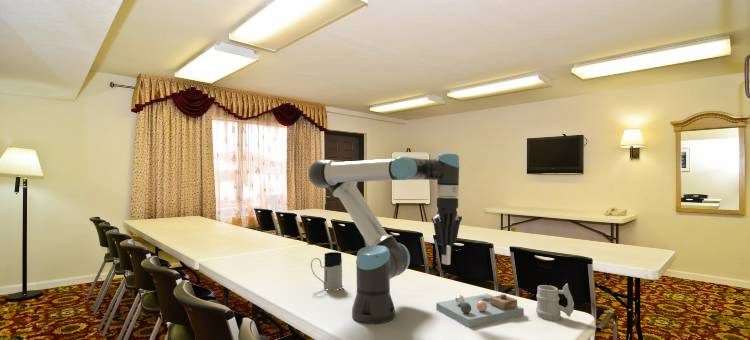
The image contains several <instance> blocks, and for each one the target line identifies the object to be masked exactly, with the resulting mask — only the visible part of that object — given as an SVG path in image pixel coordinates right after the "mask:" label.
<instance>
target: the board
mask: <svg viewBox="0 0 750 340" xmlns="http://www.w3.org/2000/svg"><path fill="white" fill-rule="evenodd" d="M490 297H494V295H491V294H489V293H484V294H478V295H473V296H467V297H464V299H465V302H466V303H469V304H470V306H471V311H470V312H469V313H467V314H466V313H463V312H462V311H461V306H459V305H457V304H456V302H455V299H451V300H450V299H449V300H445V301H444V300H443V301H440V302H436V304H435V305H436V311H438V312H440V313H441V314H443V315H445V316H447V317H449V318H451V319H452V320H453V321H456V322H458V323H459V324H461V325H462V326H465V327H466V328H468V329H469V328H473V327H478V326H482V325H487V324H492V323H496V322H500V321H505V320H509V319H513V318H519V317H524V316H525V314H524V313H525V310H524V307H522V306H519V305H517V307H515V308H511V309H506V310H502V309H500V308H498V307H495V306H493V305H491V304H490ZM479 301H484V302H486V304H487V309H486V311H483V312H481V311H479V310H478V309H477V303H478V302H479Z"/></svg>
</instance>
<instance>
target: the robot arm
mask: <svg viewBox="0 0 750 340" xmlns="http://www.w3.org/2000/svg"><path fill="white" fill-rule="evenodd" d="M460 168H461V167H460V157H459V155H458V154H457V153H448V152H447V153H446V152H445V153H438V154H437V158H435V159H432V158H431V159H429V158H416V157H408V156H399V157H395V158H383V159H382V158H380V159H371V160H370V159H368V160H366V159H365V160H354V161H345V160H341V159H336V160H335V159H323V158H322V159H318V160H316V161H314V162H313V163H312V164H310V166H309V169H308V174H307V175H308V179H309V181H310V182H311V184H312V185H313V186H315V187H317V188H320V189H329V191H330V193H331V194H332V196H333V197H335V198H338V199H339V200H340V203H342V205H343V207H344V208H345V210H346V212H347V214H348V215H349V216H350V218H351V220H352V222H353V223H354V225H355V226H356V228H357V229H358V230H359V233H360V234H361V236H362V237H363V239H364V241H365V242H366V244H367V245H368V246H365V247H362V248H360V249H359V250H358V251H357V253H356V260H355V264H356V265H355V266H356V295H355V299H354V301H353V305H352V309H351V317H352V318H354V319H353V320H355V321H356V322H359V321H360V323H363V322H364V323H365V324H382V323H386V322H389V321H391V320H394V319H395V316H396V308H395V305H394V301H393V298H392V296H391V290H390V289H391V282H390V279H393V278H395V277H397V276H400V275H401V274H402V273H404V272H405V271H406V270H407V269H408V268H409V265H410V263H411V262H410V261H411V255H410V252H409V250H408V248H407V247H406V246H405V245H404V244H402V243H400V242H397V240H396V238H395V237H394V235H392V234H388V232H386V230H385V229H384V227H383V225H382V224H381V223H380V221H379V219H378V218H377V216H376V215H375V213H374V212H373V210H372V208H371V207H370V205H369V204H368V202H367V201H366V199H365V198H364V196H363V194H362V193H361V192H360V191H361V190H359V189H358V187H357V186H358V185H357V184H358V183H359V182H375V181H376V182H377V181H379V182H380V181H408V180H409V181H411V180H414V181H415V180H416V181H417V180H419V181H420V180H421V181H422V180H423V181H425V180H428V181H437V182H436V183H437V184H436V185H437V186H436V196H437V198H436V208H437V212H436V215H435V216H432V217H431V221H432V225H433V227H434V228H433V229H434V235H435V241H436V244H438V245H440V254H441V264H443V265H447V266H448V265H449V266H450V265H451V255H452V248H453V247H454V246H455V244H456V243H457V240H458V236H459V235H458V234H459V230H460V225H461V222H462V220H463V217H462V216H461V215H458V211H457V209H458V208H459V198H458V196H459V185H460V184H459V183H460V182H459V181H460Z"/></svg>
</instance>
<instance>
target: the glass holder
mask: <svg viewBox="0 0 750 340" xmlns="http://www.w3.org/2000/svg"><path fill="white" fill-rule="evenodd" d="M314 260H318V261H319V263H320V267H321V269H322V268H323V271H324V272H323V279H321V278H320V277H319V276H317V274H315V271H314V270H313V262H314ZM310 269H311V272H312V274H313V275H314V277H315V278H317V279H318V280H319V281H321V282H322V283H323V287H324V289H328V290H337V289H340V288H342V287H343V288H344V286H343V259H342V252H339V251H338V252H337V251H333V252H326V253H324V264H323V266H322V260H321V259H320V258H319V257H314V258H313V259H312V260H311V262H310ZM324 289H323V290H324ZM337 291H338V290H337Z"/></svg>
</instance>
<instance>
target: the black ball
mask: <svg viewBox="0 0 750 340" xmlns="http://www.w3.org/2000/svg"><path fill="white" fill-rule="evenodd" d="M461 311H462V312H463V313H466V314H467V313H469V312H470V311H471V306H470V304H469V303H466V302H464V303H462V304H461Z"/></svg>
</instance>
